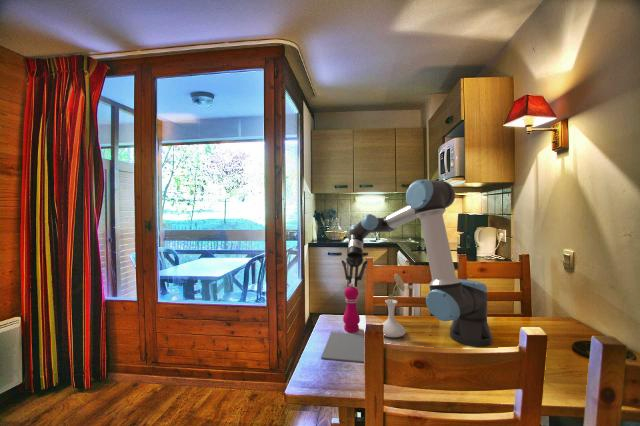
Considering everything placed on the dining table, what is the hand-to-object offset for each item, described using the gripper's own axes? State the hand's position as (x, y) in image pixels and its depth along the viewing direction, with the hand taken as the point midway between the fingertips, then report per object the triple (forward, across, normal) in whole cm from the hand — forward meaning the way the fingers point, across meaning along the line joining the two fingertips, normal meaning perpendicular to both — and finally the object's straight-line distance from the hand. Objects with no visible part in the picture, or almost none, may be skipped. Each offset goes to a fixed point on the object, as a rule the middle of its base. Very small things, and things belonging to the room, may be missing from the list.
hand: (352, 292), depth 137 cm
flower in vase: (+16, -17, -4) cm, 24 cm away
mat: (+27, 0, +6) cm, 27 cm away
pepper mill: (+15, 0, -5) cm, 16 cm away
